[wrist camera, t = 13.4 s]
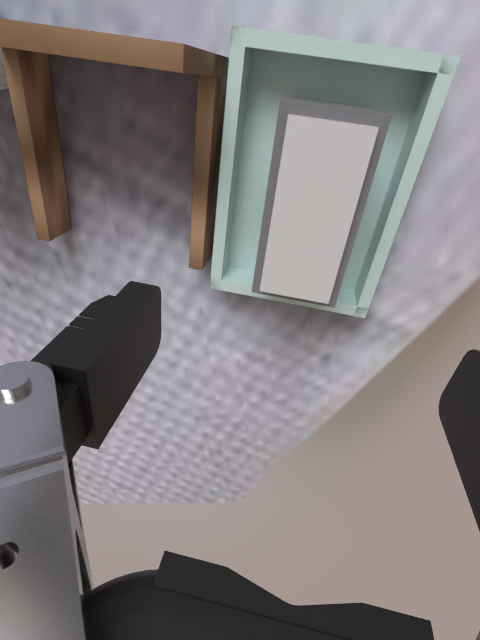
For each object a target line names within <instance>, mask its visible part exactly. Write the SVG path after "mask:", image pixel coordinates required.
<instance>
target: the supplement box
mask: <svg viewBox="0 0 480 640" xmlns="http://www.w3.org/2000/svg"><path fill="white" fill-rule="evenodd" d="M3 89H9V87H8V81H7V76H6V71H5V66H4V61H3V55H2V50H1V47H0V90H3Z"/></svg>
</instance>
